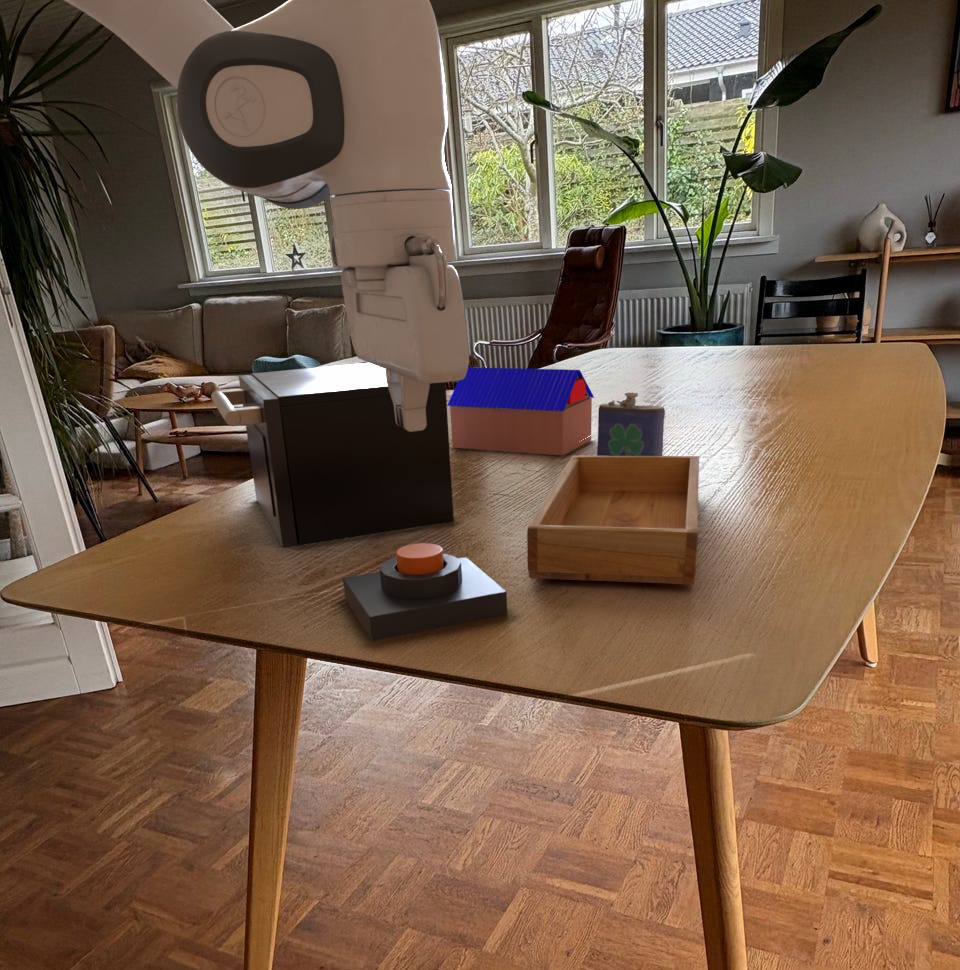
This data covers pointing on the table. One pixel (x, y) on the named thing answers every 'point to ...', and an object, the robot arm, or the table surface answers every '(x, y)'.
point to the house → (521, 410)
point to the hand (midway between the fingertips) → (411, 428)
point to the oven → (359, 454)
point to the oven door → (263, 450)
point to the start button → (419, 559)
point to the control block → (423, 598)
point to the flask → (630, 429)
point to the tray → (618, 521)
